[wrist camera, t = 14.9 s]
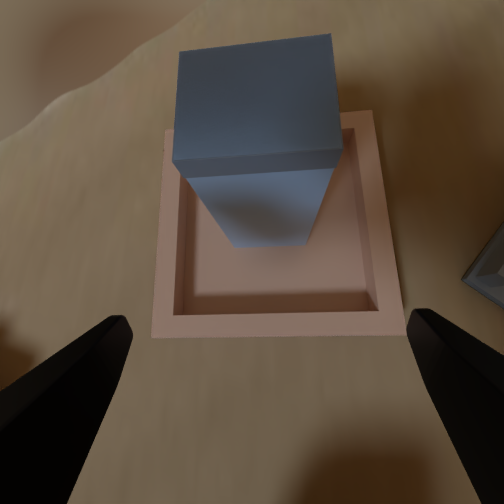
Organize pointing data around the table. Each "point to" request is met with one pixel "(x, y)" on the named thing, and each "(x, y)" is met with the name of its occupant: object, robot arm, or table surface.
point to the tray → (282, 260)
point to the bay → (489, 270)
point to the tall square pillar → (259, 135)
